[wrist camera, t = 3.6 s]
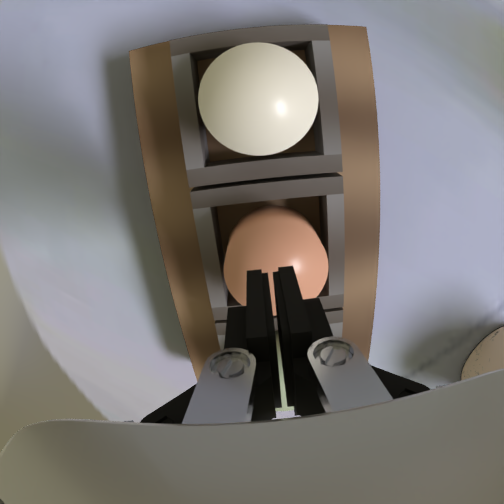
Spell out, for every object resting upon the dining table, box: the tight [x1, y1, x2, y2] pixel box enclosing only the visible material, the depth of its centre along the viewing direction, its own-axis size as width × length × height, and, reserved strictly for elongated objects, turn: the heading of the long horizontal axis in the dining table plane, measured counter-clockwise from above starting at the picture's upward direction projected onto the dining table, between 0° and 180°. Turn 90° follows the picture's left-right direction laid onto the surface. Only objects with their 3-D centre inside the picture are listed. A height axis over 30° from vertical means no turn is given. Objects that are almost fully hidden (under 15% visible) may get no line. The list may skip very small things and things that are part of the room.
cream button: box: [198, 42, 318, 156], centre depth 12 cm, size 4×4×2 cm
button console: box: [129, 24, 380, 381], centre depth 17 cm, size 22×12×5 cm, turn 6°
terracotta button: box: [224, 205, 328, 316], centre depth 15 cm, size 4×4×2 cm
